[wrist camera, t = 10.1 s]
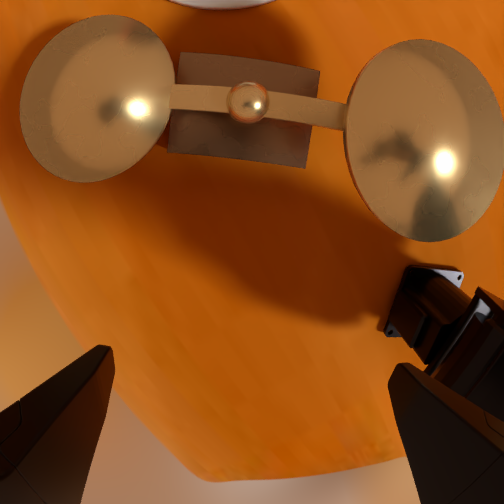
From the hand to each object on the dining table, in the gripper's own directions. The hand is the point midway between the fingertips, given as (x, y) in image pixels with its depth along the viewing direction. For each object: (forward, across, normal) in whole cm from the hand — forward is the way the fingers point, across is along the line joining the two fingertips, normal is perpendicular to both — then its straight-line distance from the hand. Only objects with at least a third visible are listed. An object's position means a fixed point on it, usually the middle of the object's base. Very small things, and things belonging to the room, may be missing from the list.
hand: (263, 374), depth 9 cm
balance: (+13, +1, -8) cm, 15 cm away
